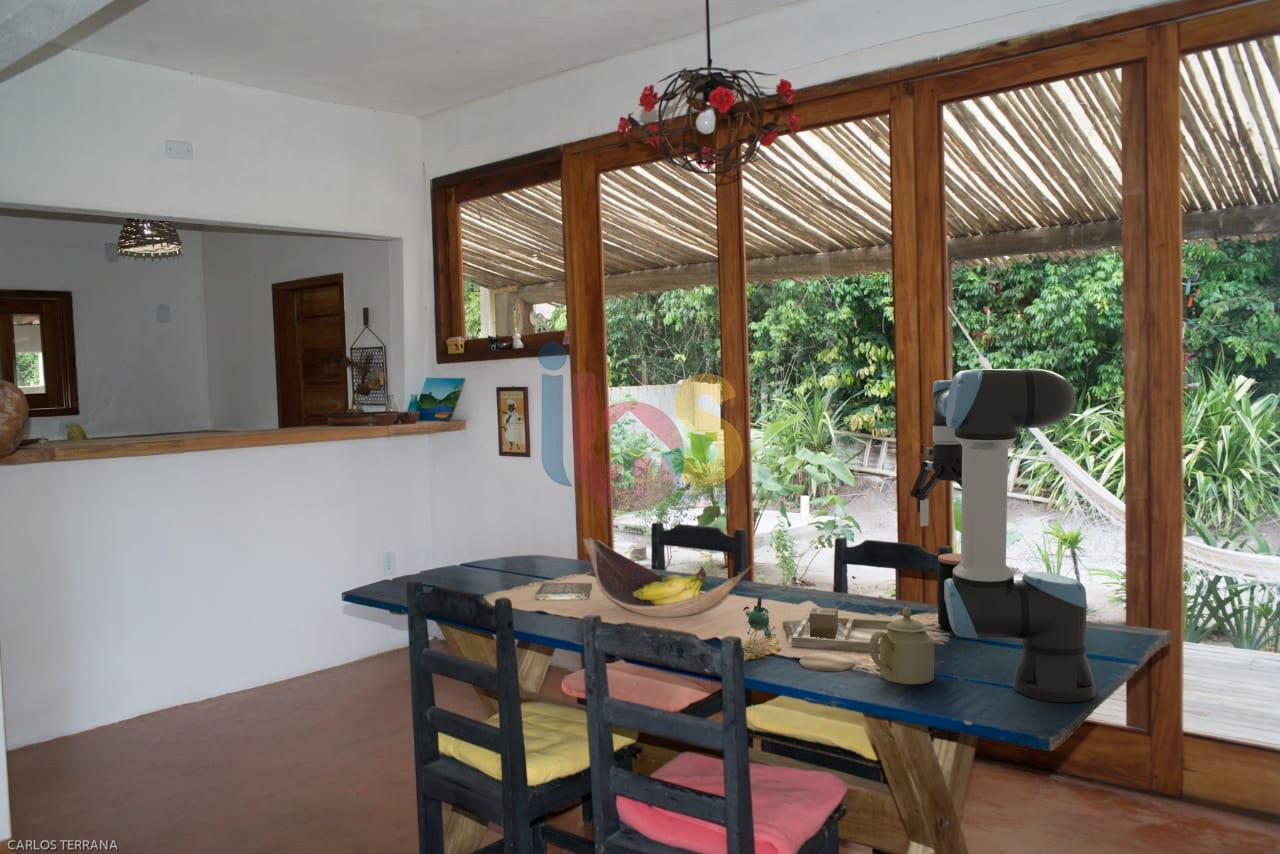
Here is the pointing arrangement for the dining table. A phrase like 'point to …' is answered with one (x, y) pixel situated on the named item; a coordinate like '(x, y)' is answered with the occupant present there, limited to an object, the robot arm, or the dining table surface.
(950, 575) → the coffee jar
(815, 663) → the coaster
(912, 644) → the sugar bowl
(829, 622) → the letter cube
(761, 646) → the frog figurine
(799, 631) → the tray
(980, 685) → the dining table surface
